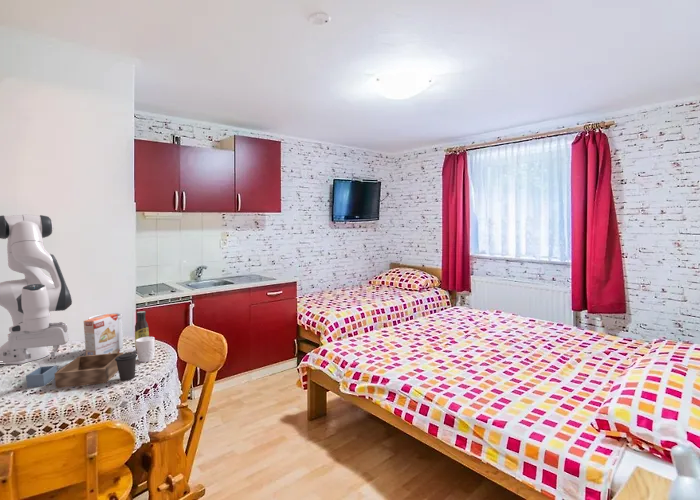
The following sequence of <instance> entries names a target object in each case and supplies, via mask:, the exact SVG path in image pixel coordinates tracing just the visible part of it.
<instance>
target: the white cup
mask: <svg viewBox="0 0 700 500" xmlns="http://www.w3.org/2000/svg"><path fill="white" fill-rule="evenodd" d="M155 339H156V338H155V337H154V336H149V337H142V338H139V339H137V340H136V348H137V352H136V355H137V359H138V361H137V362H140V363H147V362H150V361H153V360H154V359H155V351H156V350H155V347H156V345H155V344H156V343H155ZM136 348H135V349H136Z"/></svg>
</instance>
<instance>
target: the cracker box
mask: <svg viewBox="0 0 700 500" xmlns="http://www.w3.org/2000/svg"><path fill="white" fill-rule="evenodd" d="M105 314H106V315H103V316H99V317H96V318H92V319H89V320H88V319H85V320H83V332H84V334H83V335H84V346H85V347H84V349H85V356H88V355H99V354H111V353H121V352H120V350H121V349H119V333H118V316H117V314H107V313H105Z"/></svg>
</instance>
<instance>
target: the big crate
mask: <svg viewBox="0 0 700 500" xmlns="http://www.w3.org/2000/svg"><path fill="white" fill-rule="evenodd" d="M123 354H124V352H120V353H111V354H99V355H88V356H86V355H79V356H77V357H76V358H74V359H73V360H72V361H70V362H69V363H67V364H65V366H63V367H61V368H60V369H59V370H57V372H56V373H55V379H54V384H55V389H61V388H62V389H63V388H72V387H80V386H89V385H102V384H107V383H108V382H109V381H110V380H111V379H112V378H113V377H114V376H115V375H116V374H117V373H119V372H118V367H117V362H116V361H115V358H116V357H118V356H120V355H123Z"/></svg>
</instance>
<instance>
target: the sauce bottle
mask: <svg viewBox="0 0 700 500" xmlns="http://www.w3.org/2000/svg"><path fill="white" fill-rule="evenodd" d="M146 314H147V312H146V311H145V310H143V311H137V312H136V322H135V325H134V345H135V346H134V348H135V352H136V353H137V348H136V340H137V339H139V338H142V337H150V332H149V331H150V330H149V329H150V328H149V324H148V322H147V320H146V319H147V318H146Z"/></svg>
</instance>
